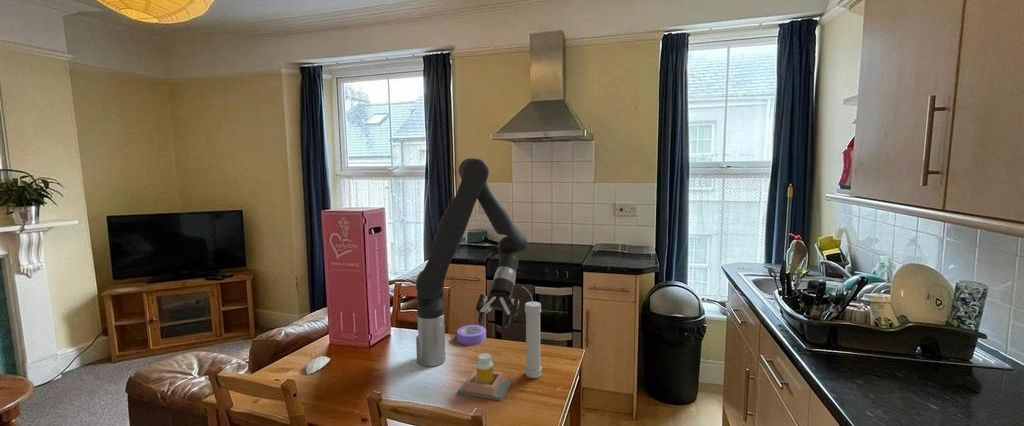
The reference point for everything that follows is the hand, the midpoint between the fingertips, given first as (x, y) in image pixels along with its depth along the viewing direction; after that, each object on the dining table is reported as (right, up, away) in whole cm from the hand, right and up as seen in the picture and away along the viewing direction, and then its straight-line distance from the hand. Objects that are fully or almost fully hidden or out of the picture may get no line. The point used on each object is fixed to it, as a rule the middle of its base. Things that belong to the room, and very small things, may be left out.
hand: (492, 325), depth 133 cm
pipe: (+13, -17, +2) cm, 22 cm away
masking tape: (-10, -15, +32) cm, 37 cm away
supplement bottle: (-2, -17, -6) cm, 18 cm away
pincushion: (-62, -18, +10) cm, 65 cm away
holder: (-2, -18, -6) cm, 19 cm away
